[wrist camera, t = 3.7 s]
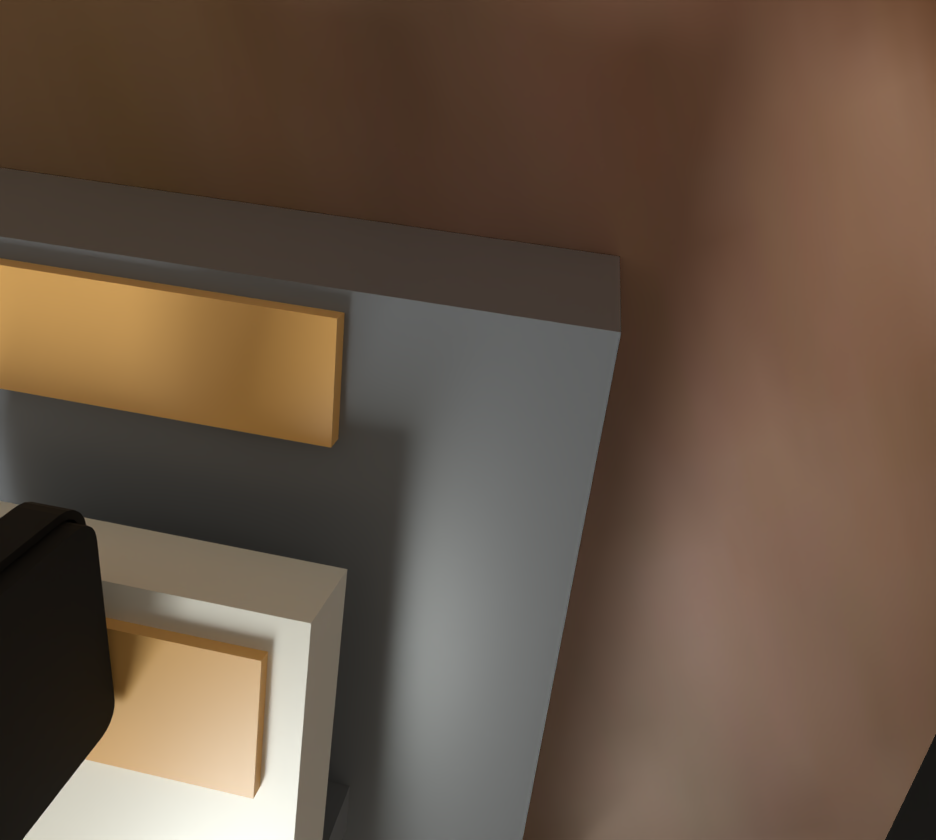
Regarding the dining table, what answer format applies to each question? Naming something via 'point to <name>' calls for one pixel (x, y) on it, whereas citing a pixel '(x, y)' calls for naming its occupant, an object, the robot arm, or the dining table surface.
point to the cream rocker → (208, 695)
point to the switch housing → (331, 449)
